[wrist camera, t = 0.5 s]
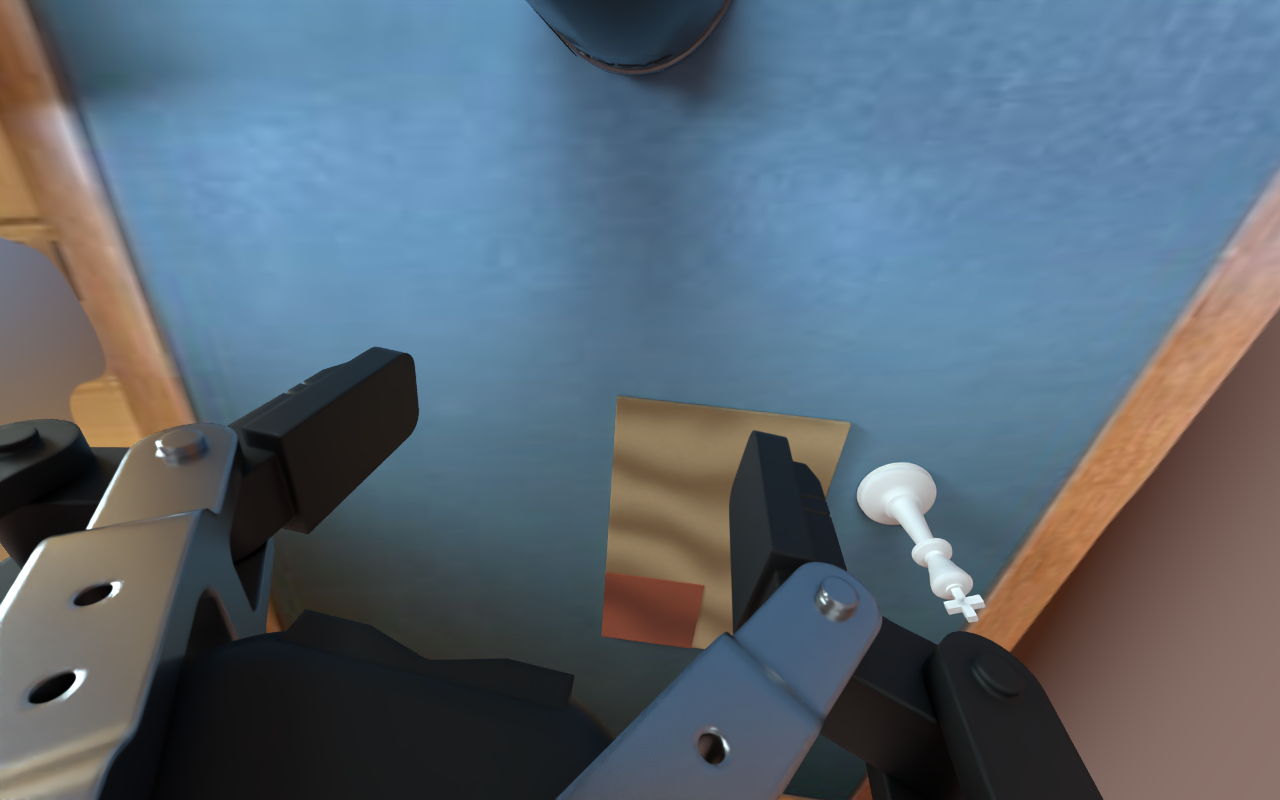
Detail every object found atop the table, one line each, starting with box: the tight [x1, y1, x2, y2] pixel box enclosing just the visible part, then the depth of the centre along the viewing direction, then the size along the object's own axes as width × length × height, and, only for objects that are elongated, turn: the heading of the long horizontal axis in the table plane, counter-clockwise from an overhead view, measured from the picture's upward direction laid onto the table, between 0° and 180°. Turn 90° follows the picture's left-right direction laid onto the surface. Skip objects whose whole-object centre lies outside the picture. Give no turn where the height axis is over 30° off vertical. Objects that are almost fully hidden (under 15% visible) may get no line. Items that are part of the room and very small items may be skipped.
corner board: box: [602, 396, 851, 649], centre depth 36 cm, size 24×15×1 cm, turn 175°
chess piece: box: [857, 462, 985, 623], centre depth 28 cm, size 5×5×10 cm
